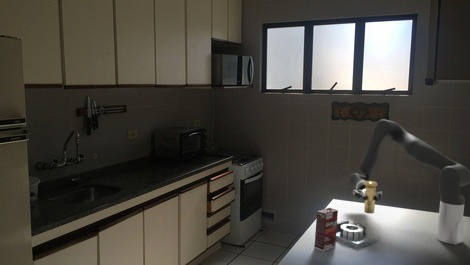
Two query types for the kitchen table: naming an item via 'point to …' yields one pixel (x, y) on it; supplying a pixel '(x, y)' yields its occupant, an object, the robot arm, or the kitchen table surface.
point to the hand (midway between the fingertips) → (371, 198)
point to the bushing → (370, 196)
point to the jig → (353, 234)
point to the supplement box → (326, 229)
